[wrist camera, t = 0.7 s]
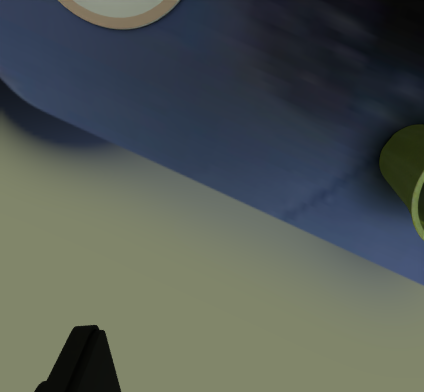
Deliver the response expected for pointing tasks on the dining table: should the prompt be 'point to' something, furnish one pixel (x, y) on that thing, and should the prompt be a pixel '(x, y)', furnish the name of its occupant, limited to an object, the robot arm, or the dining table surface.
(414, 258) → the dining table surface
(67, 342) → the robot arm
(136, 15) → the dish
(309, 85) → the dining table surface
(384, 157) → the plant pot
